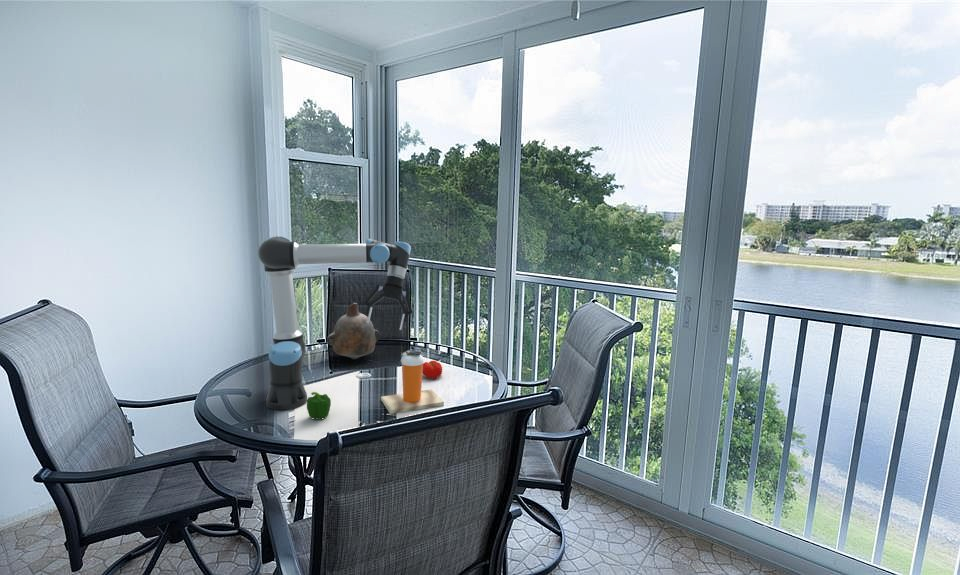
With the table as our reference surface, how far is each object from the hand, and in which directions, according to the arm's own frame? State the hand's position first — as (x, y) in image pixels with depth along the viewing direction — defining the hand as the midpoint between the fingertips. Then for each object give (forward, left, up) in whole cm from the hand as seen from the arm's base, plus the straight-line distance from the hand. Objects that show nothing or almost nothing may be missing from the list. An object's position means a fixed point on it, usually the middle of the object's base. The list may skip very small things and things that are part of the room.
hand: (384, 326), depth 194 cm
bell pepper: (-28, -14, -29) cm, 43 cm away
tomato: (+26, +12, -30) cm, 41 cm away
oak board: (+8, -14, -29) cm, 33 cm away
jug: (-3, +49, -29) cm, 57 cm away
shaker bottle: (+8, -14, -28) cm, 32 cm away
